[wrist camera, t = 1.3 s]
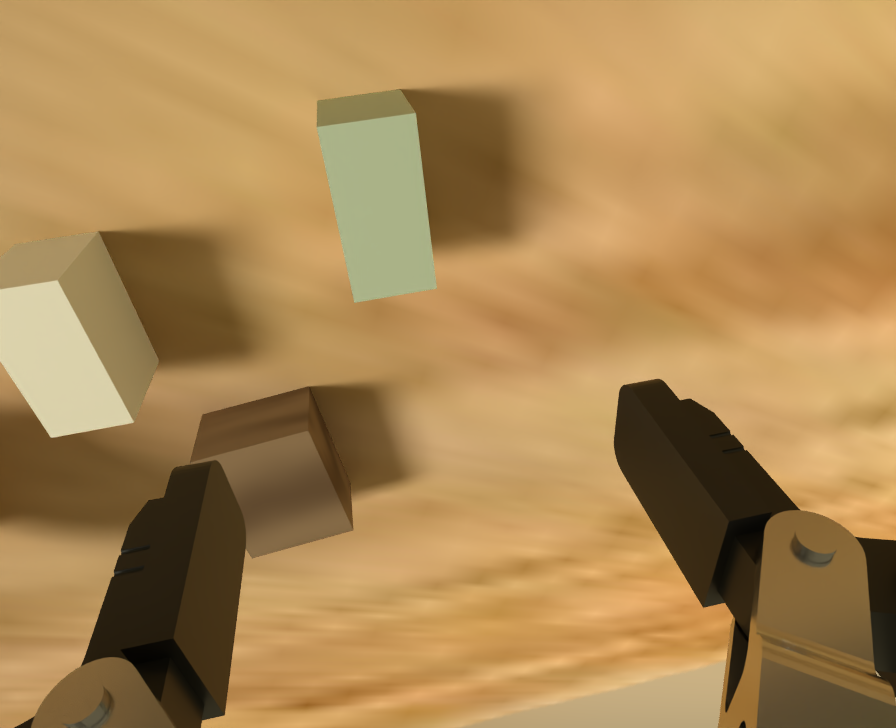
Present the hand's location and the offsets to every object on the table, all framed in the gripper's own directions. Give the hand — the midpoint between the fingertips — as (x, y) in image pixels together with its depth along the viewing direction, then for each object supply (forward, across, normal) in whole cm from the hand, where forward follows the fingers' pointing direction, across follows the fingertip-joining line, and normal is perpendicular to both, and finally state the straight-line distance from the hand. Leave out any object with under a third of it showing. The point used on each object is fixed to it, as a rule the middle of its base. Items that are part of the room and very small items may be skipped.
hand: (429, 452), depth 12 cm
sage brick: (+18, 0, 0) cm, 18 cm away
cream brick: (+18, +14, +4) cm, 23 cm away
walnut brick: (+18, +8, +15) cm, 25 cm away
